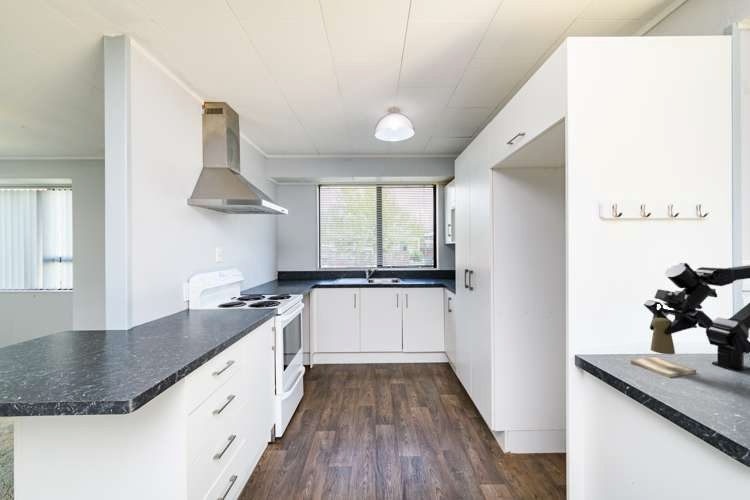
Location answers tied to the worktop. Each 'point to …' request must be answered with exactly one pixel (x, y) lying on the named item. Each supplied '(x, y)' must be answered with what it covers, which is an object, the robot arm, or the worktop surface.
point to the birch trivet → (663, 367)
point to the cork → (662, 337)
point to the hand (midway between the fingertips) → (658, 331)
